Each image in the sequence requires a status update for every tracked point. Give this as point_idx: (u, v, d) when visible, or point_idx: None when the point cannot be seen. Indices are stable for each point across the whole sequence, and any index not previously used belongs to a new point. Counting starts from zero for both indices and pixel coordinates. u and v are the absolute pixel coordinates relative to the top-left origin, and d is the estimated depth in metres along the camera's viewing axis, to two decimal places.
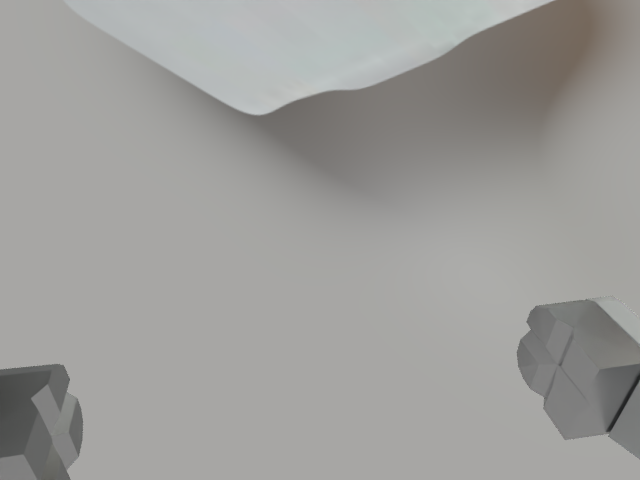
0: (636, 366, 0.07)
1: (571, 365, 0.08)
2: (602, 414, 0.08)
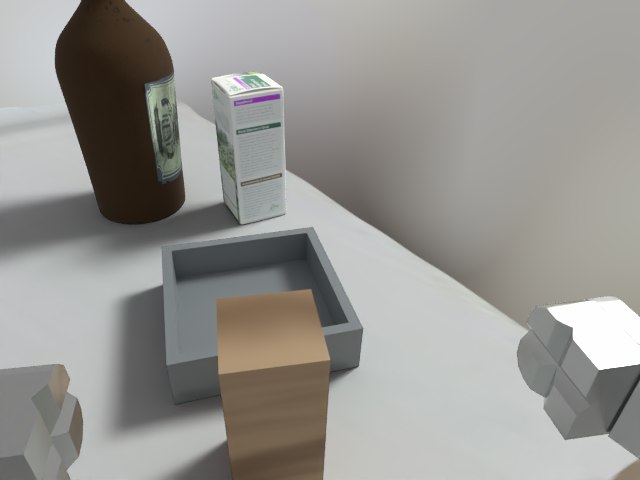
0: (636, 366, 0.07)
1: (570, 365, 0.08)
2: (602, 414, 0.08)
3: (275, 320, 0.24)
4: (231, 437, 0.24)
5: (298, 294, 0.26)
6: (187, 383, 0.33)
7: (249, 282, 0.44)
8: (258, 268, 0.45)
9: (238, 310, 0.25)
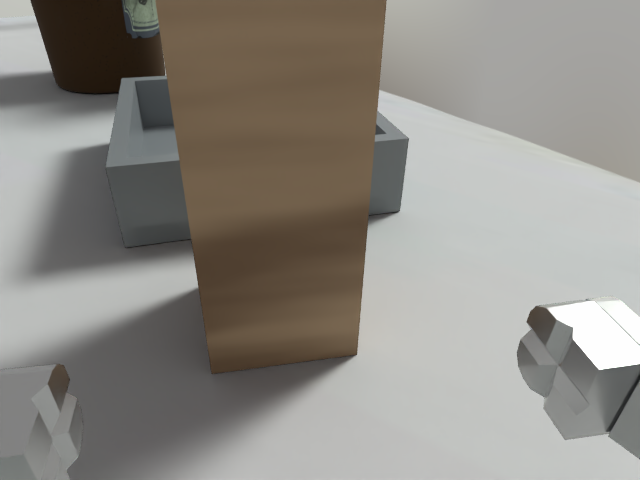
0: (636, 366, 0.07)
1: (571, 365, 0.08)
2: (602, 414, 0.08)
3: None
4: (190, 175, 0.12)
5: None
6: (142, 209, 0.22)
7: None
8: None
9: None
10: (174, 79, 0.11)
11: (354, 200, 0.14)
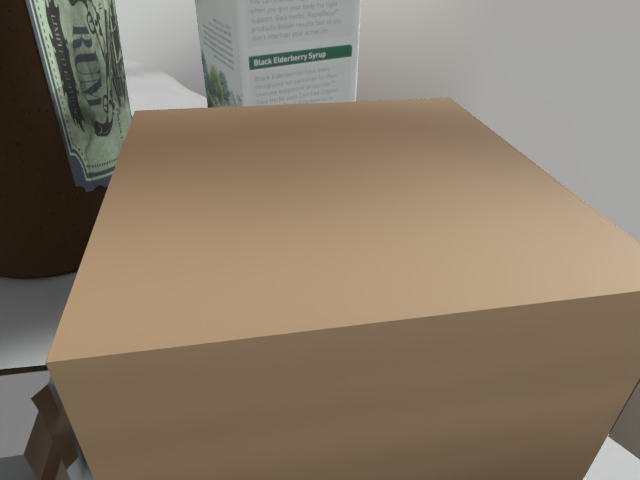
0: None
1: None
2: None
3: (353, 156, 0.06)
4: None
5: (415, 105, 0.08)
6: None
7: None
8: None
9: (209, 133, 0.07)
10: None
11: None
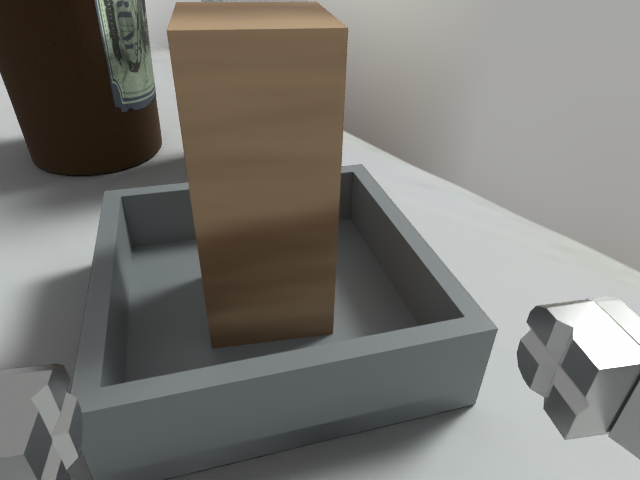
0: (636, 366, 0.07)
1: (570, 365, 0.08)
2: (602, 414, 0.08)
3: (262, 11, 0.16)
4: (196, 187, 0.16)
5: (298, 3, 0.18)
6: (123, 452, 0.15)
7: None
8: None
9: (207, 6, 0.17)
10: (184, 114, 0.14)
11: (326, 206, 0.17)
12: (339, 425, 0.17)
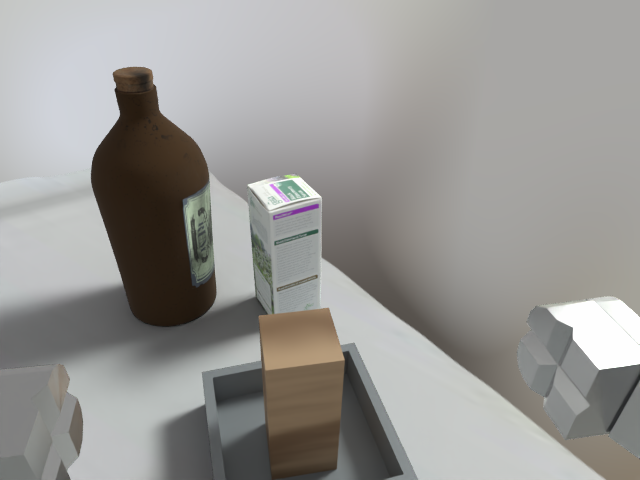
0: (636, 366, 0.07)
1: (570, 364, 0.08)
2: (602, 414, 0.08)
3: (303, 331, 0.33)
4: (271, 418, 0.33)
5: (319, 311, 0.35)
6: None
7: None
8: None
9: (275, 324, 0.34)
10: (269, 395, 0.31)
11: (334, 419, 0.34)
12: None
